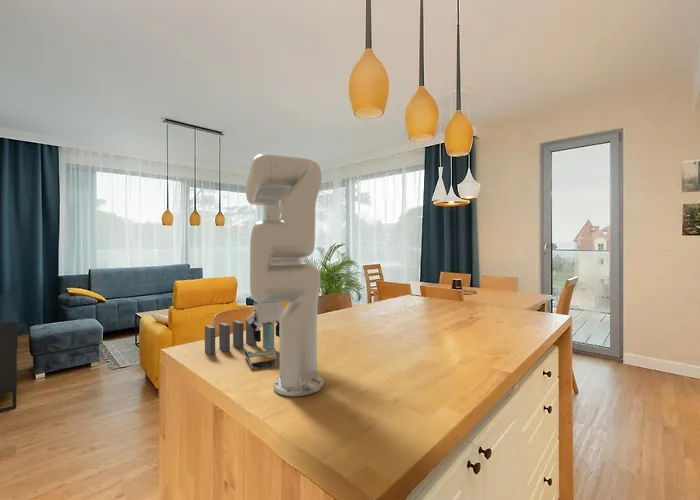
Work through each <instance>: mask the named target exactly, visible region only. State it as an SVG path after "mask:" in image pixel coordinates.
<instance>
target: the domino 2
mask: <svg viewBox="0 0 700 500" xmlns="http://www.w3.org/2000/svg"><path fill="white" fill-rule="evenodd" d="M218 324H219V325H218V334H219V335H218V336H219V337H218V338H219V342H218V343H219V350H221V351H222V352H224V353H227V352H230V351H231V330H230V329H231V326H230V325H231V324H228V323H226V322H221V323H218Z"/></svg>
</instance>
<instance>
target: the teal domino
mask: <svg viewBox="0 0 700 500" xmlns="http://www.w3.org/2000/svg"><path fill="white" fill-rule="evenodd" d="M262 347H263V348H264V349H266V350H268V349H269V350H273V347H274V348H275V323H274V322H270V323H263V324H262Z"/></svg>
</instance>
